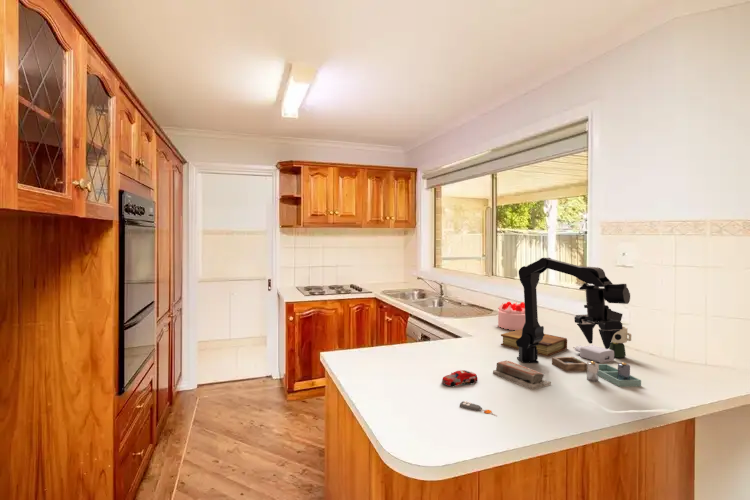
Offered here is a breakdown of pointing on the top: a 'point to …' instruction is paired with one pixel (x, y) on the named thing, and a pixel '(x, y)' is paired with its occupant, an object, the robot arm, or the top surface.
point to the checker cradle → (569, 364)
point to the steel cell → (592, 371)
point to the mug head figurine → (619, 342)
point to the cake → (511, 316)
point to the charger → (595, 353)
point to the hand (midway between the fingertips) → (598, 346)
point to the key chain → (474, 407)
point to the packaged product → (520, 375)
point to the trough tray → (616, 376)
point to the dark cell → (623, 371)
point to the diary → (545, 346)
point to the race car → (459, 378)
